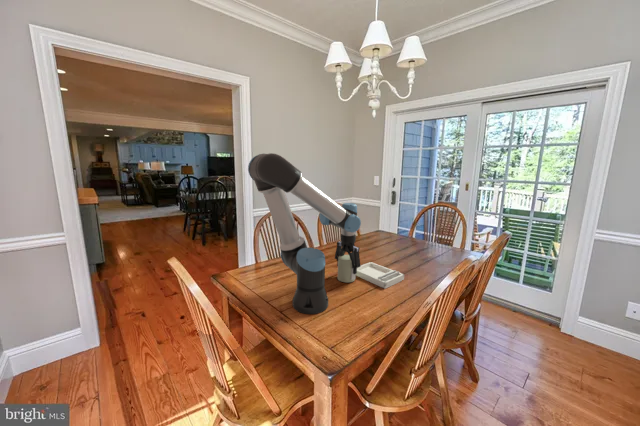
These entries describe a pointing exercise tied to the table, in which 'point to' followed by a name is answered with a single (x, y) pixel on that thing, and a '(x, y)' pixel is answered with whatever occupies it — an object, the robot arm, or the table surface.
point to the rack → (379, 275)
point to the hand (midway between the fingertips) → (346, 275)
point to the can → (344, 268)
